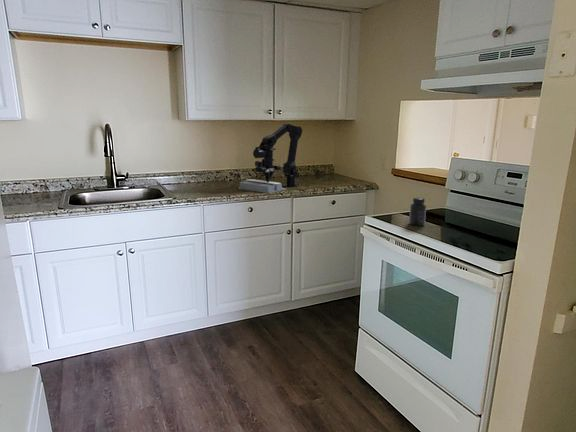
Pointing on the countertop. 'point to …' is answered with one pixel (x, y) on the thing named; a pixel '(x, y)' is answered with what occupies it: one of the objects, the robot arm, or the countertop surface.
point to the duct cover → (262, 181)
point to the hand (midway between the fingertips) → (267, 182)
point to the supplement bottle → (417, 212)
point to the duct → (261, 187)
